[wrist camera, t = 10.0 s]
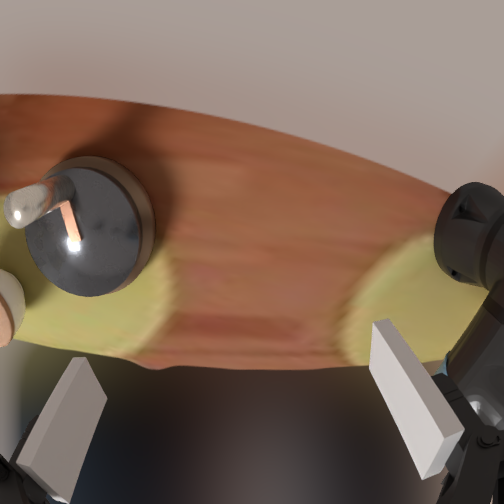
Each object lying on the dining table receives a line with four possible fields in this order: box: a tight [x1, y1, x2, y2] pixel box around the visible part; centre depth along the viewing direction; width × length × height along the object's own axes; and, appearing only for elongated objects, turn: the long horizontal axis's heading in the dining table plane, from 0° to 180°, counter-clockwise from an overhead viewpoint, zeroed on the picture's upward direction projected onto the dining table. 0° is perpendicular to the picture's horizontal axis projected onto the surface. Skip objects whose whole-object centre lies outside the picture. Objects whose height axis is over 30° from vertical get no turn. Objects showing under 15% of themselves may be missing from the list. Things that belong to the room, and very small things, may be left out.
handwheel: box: [4, 166, 143, 297], centre depth 28 cm, size 15×15×11 cm
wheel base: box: [39, 156, 156, 294], centre depth 35 cm, size 17×17×2 cm
